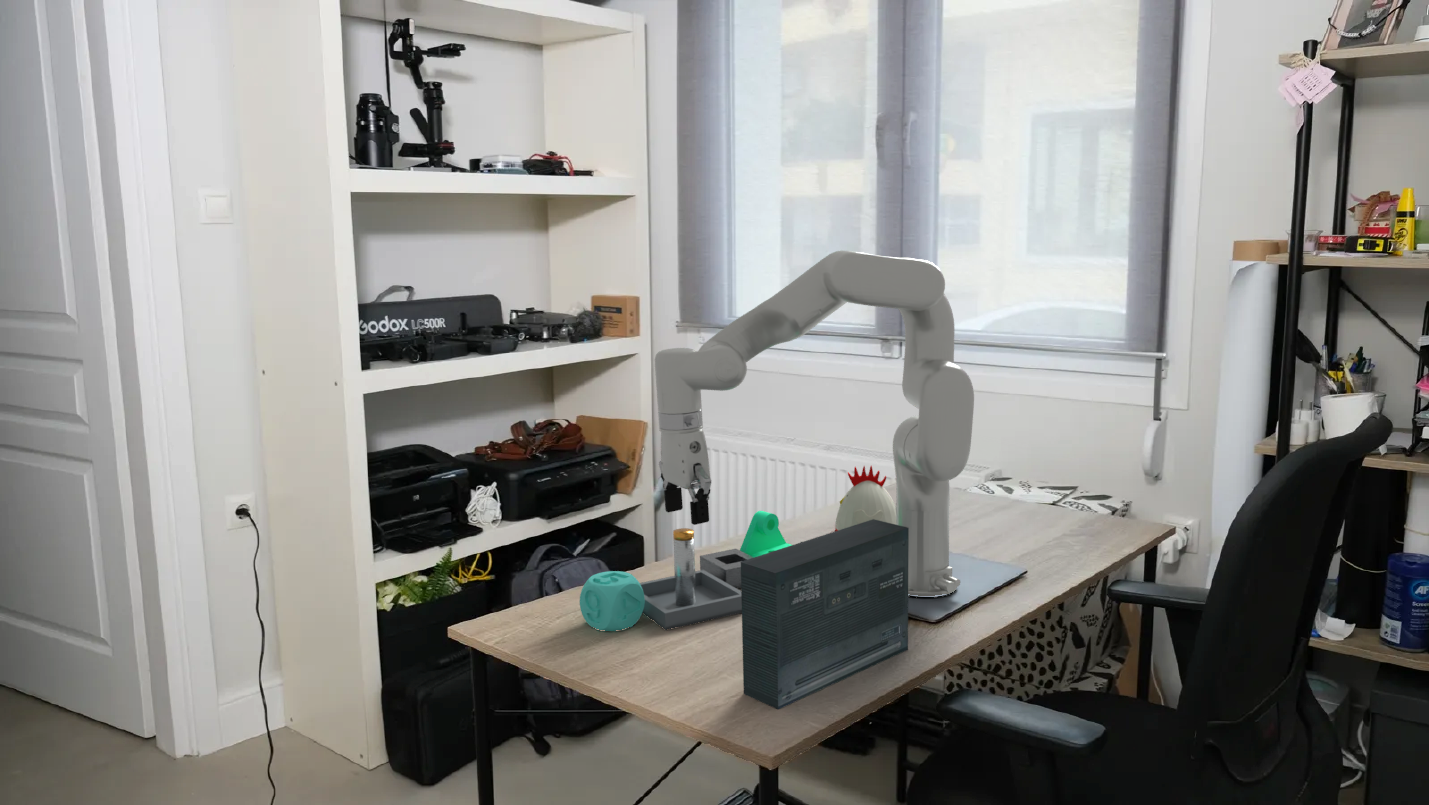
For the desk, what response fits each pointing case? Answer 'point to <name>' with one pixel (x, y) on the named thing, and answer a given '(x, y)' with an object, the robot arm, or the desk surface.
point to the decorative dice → (612, 600)
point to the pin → (684, 567)
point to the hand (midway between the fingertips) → (687, 516)
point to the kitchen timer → (865, 501)
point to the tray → (710, 604)
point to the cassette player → (823, 610)
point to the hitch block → (725, 565)
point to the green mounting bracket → (763, 535)
